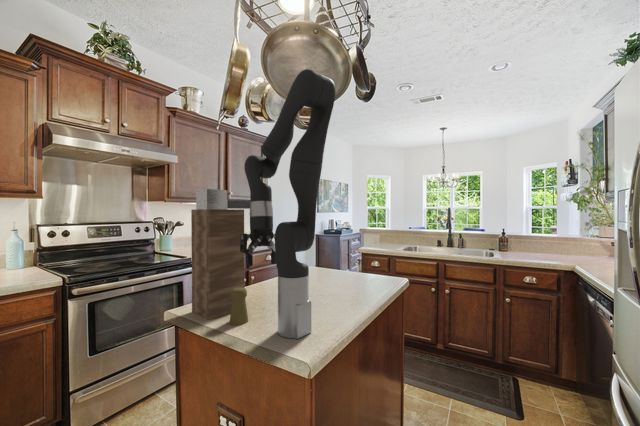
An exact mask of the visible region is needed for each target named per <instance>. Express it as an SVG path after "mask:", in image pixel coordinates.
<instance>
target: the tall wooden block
mask: <svg viewBox="0 0 640 426" xmlns="http://www.w3.org/2000/svg"><path fill="white" fill-rule="evenodd" d="M190 220H191V312H192V313H194V314H196V315H199V316H201V317H204V318H206V319H208V320H214V319H216V318H219V317H222V316H223V317H224V316H226V315H229V314H231V307H232V300H233V299H232V298H231V291H232V290H233V289H234V288H245V253H242V252H240V239H241V234H245V209H203V210H196V209H191V219H190Z"/></svg>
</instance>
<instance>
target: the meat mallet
mask: <svg viewBox="0 0 640 426" xmlns="http://www.w3.org/2000/svg"><path fill="white" fill-rule="evenodd" d="M195 195H196V196H195V199H196V200H195V201H196V203H195V204H196V205H195V206H196V207H195V210H203V209H234V210H246V209H249V210H250V200H232V199H231V200H230V199H229V200H228V190H226V189H215V188H214V189H213V188H204V189H203V188H202V189H196V190H195Z"/></svg>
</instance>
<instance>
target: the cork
mask: <svg viewBox="0 0 640 426" xmlns="http://www.w3.org/2000/svg"><path fill="white" fill-rule="evenodd" d="M247 296H248V290H247V288H245V287H244V288H234V289H233V290H232V291H231V298H232V299H233V300H232V307H231V313H230V316H229V324H230V325H233V326H241V325H245V324H247V323H248V322H249V315H248V309H247V308H248V307H247V301H246V297H247Z"/></svg>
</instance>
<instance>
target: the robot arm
mask: <svg viewBox="0 0 640 426" xmlns="http://www.w3.org/2000/svg"><path fill="white" fill-rule="evenodd" d="M335 100H336V85H335V81H334V80H332V79H331V78H330V77H328V76H326V75H323V74H321V73H319V72H317V71H315V70H312V69H309V68H308V69H307V68H306V69H303V70H302V71H300V72H299V73H298V74H297V75H296V77H295V78H294V80H293V82H292V84H291V86H290V89H289V91H288V93H287V95H286V98H285V100H284V103H283V105H282V108H281V110H280V112H279V115H278V117H277V119H276V122H275V124H274V125H273V127H272V128H271V131H270V132H269V134H267V137H266V138H265V140H264V141H263V143H262V145H261V147H260V150H261V153H262V155H263V156H261V155H260V156H259V155H253V154H252V155H248V157H247V158H246V159H245V161H244V167H243V168H244V172H245V176H246V179H247V183H248V187H249V192H250V193H249V195H250V197H249V198H250V200H249V201H250V209H249V231H250V232H249V233H247V232H244V234H241V239H240V252H242V253H244V255H245V262H246V263H245V264H246V265H247V267H254V266H253V264H254V263H253V262H254V260H253V253H254V251H255V249H257V248H258V247H267V249H269V250H270V252H271V253H270V264H271V265H276V268H277V269H276V270H277V334H278V335H279V336H280V337H282V338H287V339H297V340H299V339H301V338H303V337H305V336H307V335H308V334H311V333H312V300H310V299H309V298H310V296H309V295H310V294H309V292H310V291H309V289H310V287H309V285H310V281H309V280H310V278H309V277H310V276H309V271H310V270H309V265H307V263H304V262H300V261H298V258H297V253H301V252H306V251H309V250H310V249H311V248H312V246H313V245H314V241H315V235H316V218H317V204H318V194H319V187H320V186H319V185H320V182H321V181H320V180H321V174H322V169H323V163H324V162H323V160H324V152H325V145H326V141H327V135H328V129H329V124H330V120H331V116H332V113H333V109H334V105H335ZM304 107H306V108H309V109H310V116H309V123H308V125H307V128H306V131H305V132H304V134H303V135H302V136H301V138H300V139H299V141H298V142H297V143H296V145H295V146H294V148H293V150H292V153H291V157H290V163H289V164H290V165H289V172H288V177H289V178H288V179H289V183H290V185H291V188H292V190H293V193H294V195H295V198H296V202H297V218H296V221H283V222H280V223H279V224H278V225H277V226H276V228H275V232H274V230H273V229H274V212H273V211H274V210H273V199H272V195H273V194H272V191H273V190H272V187H271V185H269V184H267V183H264V182H263V180H262V179H271V178H272V177H274V176H275V175H276V174H277V170H278V168H279V164H280V161H281V158H282V156H283V155H284V154H285V152H286V151H287V149H288V148H290V145H291V143H292V141H293V138H294V130H295V129H294V127H295V120H296V118H297V115H298V114H299V112H300V111H301V110H302V109H303V108H304ZM273 239H274V241H273ZM249 240H251V242H250V243H249V244H248V241H249Z"/></svg>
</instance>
